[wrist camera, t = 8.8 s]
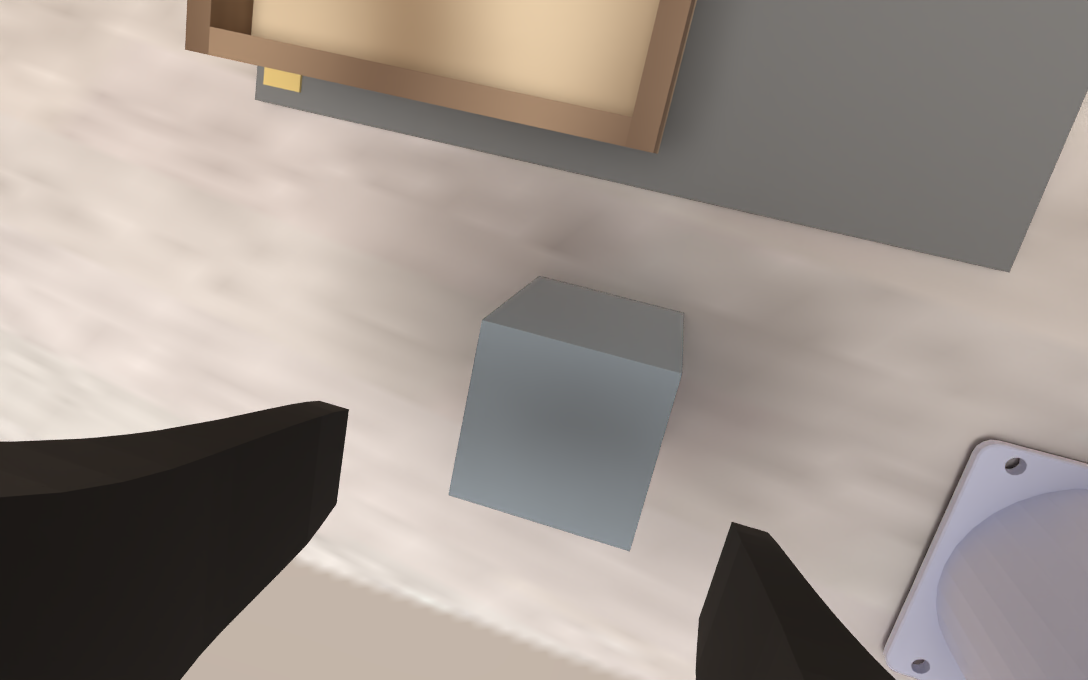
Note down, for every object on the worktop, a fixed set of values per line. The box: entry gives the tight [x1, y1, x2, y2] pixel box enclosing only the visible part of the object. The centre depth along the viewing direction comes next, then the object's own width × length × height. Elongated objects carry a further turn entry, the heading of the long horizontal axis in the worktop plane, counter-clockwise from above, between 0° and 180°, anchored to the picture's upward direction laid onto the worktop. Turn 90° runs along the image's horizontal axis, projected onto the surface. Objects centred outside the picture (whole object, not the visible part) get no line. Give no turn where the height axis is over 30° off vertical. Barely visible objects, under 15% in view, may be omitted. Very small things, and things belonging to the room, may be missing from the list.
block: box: [449, 276, 684, 551], centre depth 18 cm, size 4×4×6 cm
